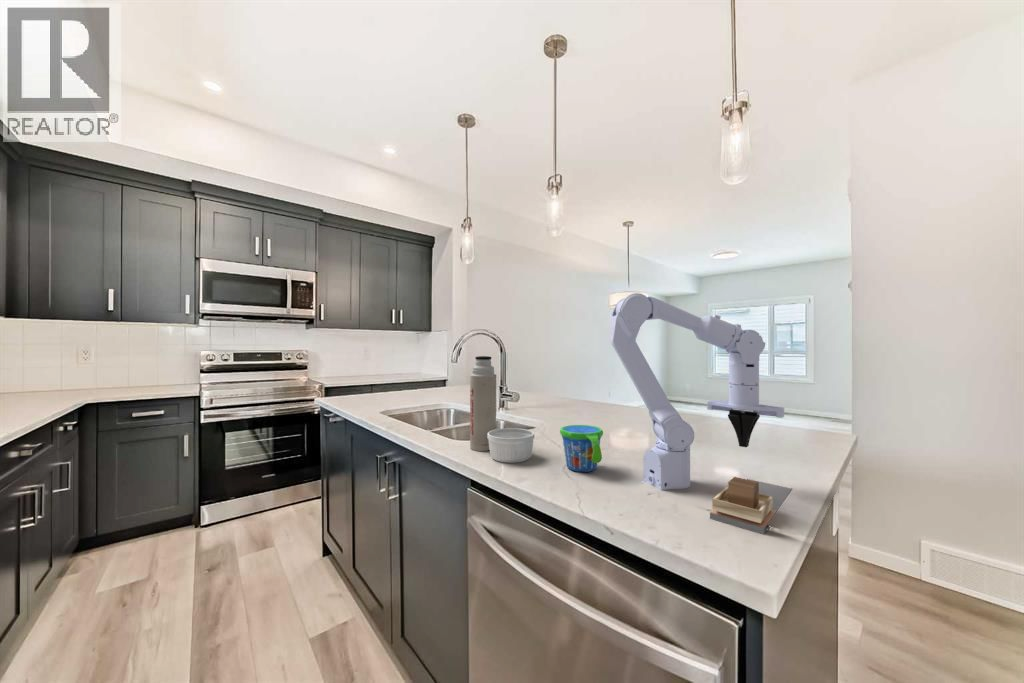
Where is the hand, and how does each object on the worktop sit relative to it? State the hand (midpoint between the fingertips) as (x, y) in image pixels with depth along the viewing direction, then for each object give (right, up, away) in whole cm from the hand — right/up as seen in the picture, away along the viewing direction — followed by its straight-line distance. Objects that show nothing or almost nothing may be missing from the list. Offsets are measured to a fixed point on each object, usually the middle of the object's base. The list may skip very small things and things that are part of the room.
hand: (743, 446), depth 86 cm
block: (-8, -7, -14) cm, 18 cm away
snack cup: (-33, -10, +14) cm, 37 cm away
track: (-3, -9, -8) cm, 13 cm away
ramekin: (-51, -10, +24) cm, 57 cm away
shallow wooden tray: (-9, -8, -14) cm, 18 cm away
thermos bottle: (-60, -10, +34) cm, 69 cm away
